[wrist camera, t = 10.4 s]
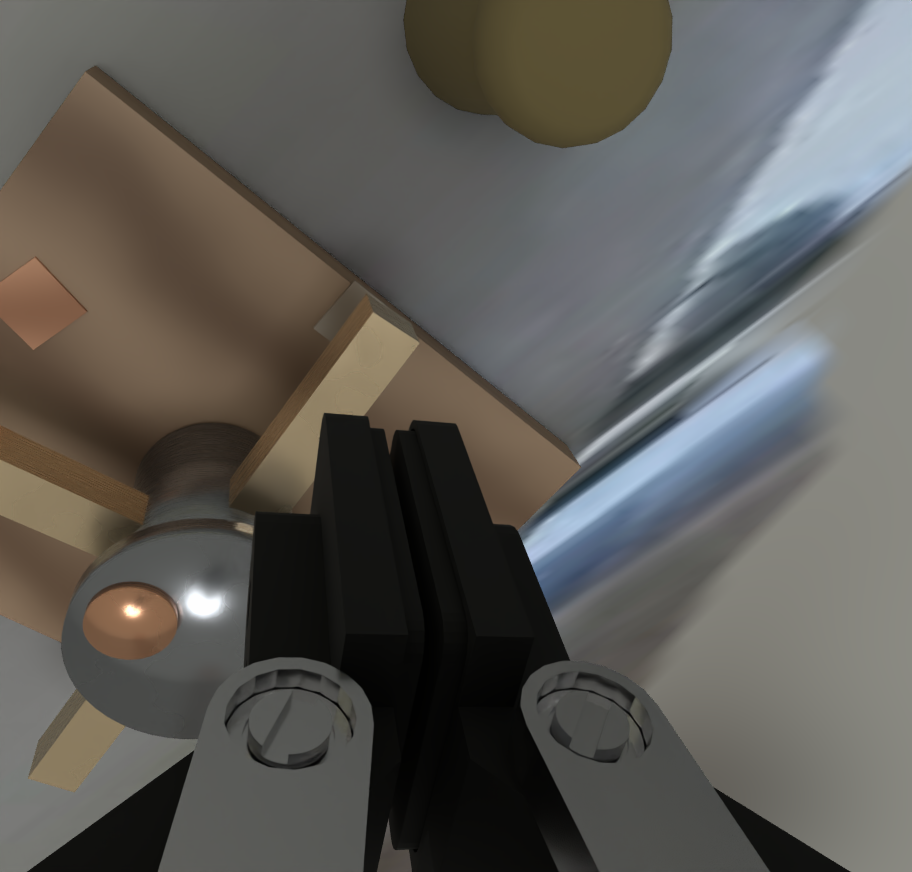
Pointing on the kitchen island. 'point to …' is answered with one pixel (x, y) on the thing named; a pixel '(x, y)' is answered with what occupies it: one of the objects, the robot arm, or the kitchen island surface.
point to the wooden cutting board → (189, 327)
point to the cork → (543, 61)
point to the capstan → (178, 548)
